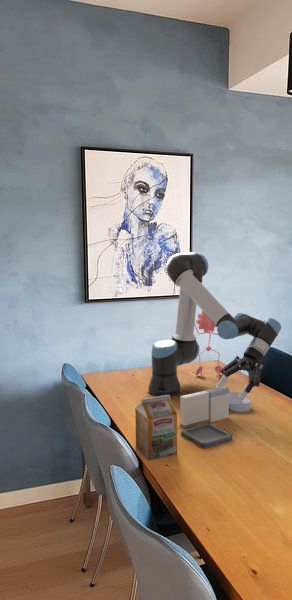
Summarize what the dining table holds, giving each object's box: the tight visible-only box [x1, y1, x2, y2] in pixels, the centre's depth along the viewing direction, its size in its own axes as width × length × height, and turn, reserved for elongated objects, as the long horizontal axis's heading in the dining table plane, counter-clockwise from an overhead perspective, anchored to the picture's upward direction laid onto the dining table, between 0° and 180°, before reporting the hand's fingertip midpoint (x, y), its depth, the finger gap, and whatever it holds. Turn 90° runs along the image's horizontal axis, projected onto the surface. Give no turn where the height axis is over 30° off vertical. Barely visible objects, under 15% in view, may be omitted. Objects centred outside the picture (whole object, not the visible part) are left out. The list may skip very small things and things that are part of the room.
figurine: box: [188, 310, 223, 379], centre depth 246 cm, size 15×26×35 cm, turn 96°
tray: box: [180, 422, 233, 450], centre depth 170 cm, size 13×13×2 cm
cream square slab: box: [179, 390, 210, 430], centre depth 182 cm, size 3×12×12 cm, turn 122°
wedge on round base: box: [229, 391, 252, 413], centre depth 199 cm, size 9×7×13 cm
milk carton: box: [134, 395, 178, 461], centre depth 159 cm, size 11×10×19 cm
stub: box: [204, 386, 230, 423], centre depth 187 cm, size 4×9×12 cm, turn 122°
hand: (228, 393), depth 188 cm, fingers open, 13 cm apart
